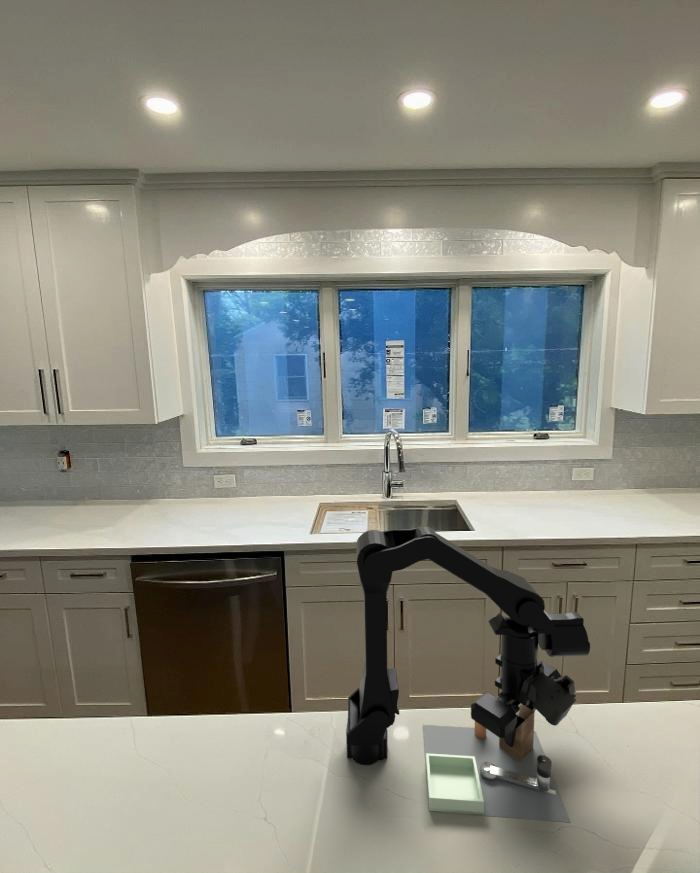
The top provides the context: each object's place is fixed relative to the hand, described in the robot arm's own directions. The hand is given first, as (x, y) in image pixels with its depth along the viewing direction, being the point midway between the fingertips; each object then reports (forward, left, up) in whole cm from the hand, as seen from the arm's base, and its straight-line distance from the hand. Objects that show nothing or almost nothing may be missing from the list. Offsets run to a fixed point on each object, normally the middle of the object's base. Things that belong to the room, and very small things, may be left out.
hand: (516, 738), depth 77 cm
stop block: (0, 0, -2) cm, 2 cm away
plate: (-6, -4, -3) cm, 8 cm away
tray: (-12, -9, -2) cm, 15 cm away
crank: (-2, -7, -1) cm, 7 cm away
